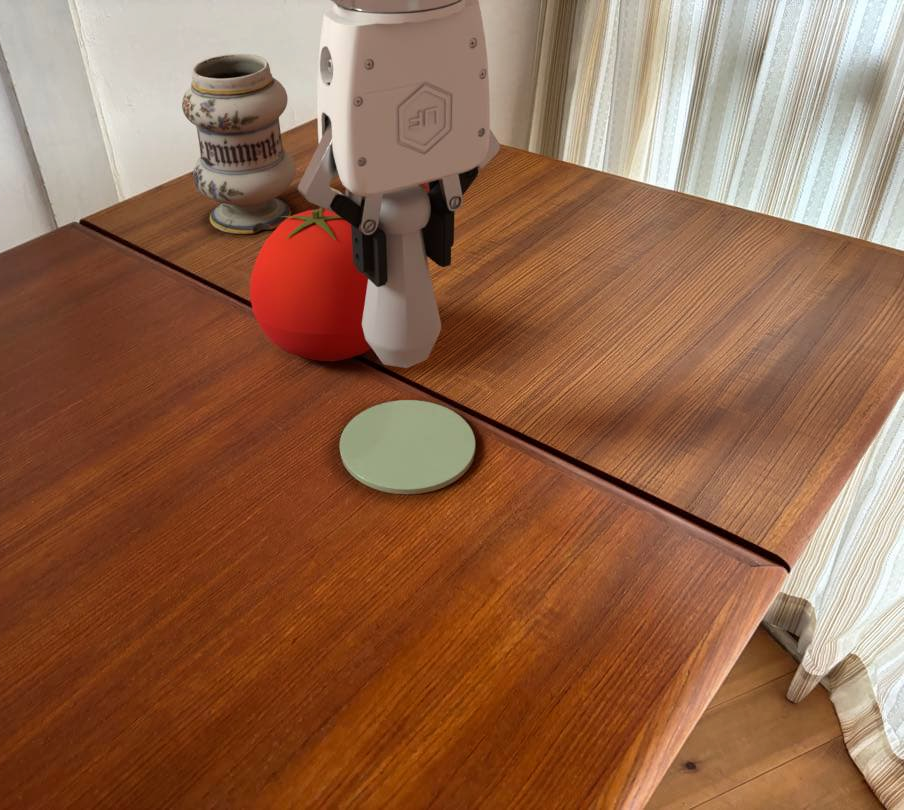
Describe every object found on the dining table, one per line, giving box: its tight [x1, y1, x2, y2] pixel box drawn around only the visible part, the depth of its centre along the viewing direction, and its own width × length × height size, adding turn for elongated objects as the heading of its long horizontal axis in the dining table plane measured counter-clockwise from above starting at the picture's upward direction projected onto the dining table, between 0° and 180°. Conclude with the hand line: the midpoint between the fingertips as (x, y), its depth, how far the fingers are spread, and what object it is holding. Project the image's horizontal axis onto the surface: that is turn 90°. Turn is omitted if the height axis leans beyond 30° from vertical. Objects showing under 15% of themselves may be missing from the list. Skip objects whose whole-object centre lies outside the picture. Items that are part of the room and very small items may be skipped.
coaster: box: [339, 399, 477, 495], centre depth 69 cm, size 11×11×1 cm
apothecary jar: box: [181, 53, 297, 235], centre depth 98 cm, size 12×12×18 cm
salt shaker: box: [362, 185, 442, 369], centre depth 60 cm, size 6×6×13 cm
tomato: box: [249, 207, 372, 362], centre depth 75 cm, size 13×11×14 cm
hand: (404, 265), depth 58 cm, fingers closed on salt shaker, 4 cm apart
